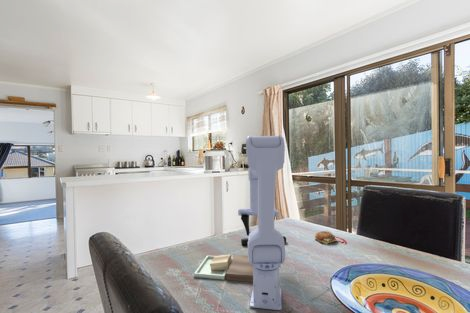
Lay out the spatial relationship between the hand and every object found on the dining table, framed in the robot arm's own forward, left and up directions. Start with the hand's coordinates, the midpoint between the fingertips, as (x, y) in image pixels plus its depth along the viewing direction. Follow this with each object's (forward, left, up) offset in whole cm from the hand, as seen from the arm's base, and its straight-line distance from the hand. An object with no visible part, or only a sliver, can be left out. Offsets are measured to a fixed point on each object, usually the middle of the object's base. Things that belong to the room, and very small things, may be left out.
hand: (258, 235), depth 88 cm
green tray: (-8, +15, -9) cm, 19 cm away
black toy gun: (+22, +1, -10) cm, 25 cm away
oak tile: (-8, +12, -8) cm, 17 cm away
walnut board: (-8, +5, -9) cm, 13 cm away
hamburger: (+25, -29, -10) cm, 40 cm away
